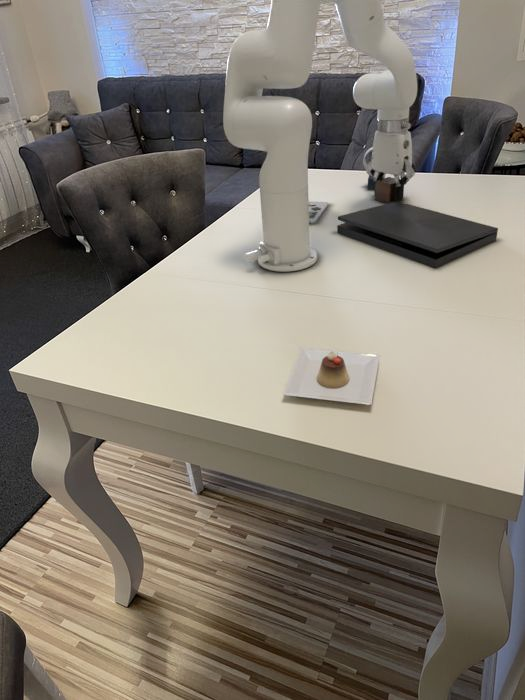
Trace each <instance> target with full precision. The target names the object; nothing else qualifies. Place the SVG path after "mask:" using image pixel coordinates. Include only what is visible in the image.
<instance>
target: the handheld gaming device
mask: <svg viewBox="0 0 525 700" xmlns="http://www.w3.org/2000/svg"><path fill="white" fill-rule="evenodd" d="M308 202H309V224H311V225H312V224H313V225H314V224H316V223H317V222H318V221H319V219H320V218H321V217H322V215H323V214H324V212H325V211H326V209H327V208H328V207H329V202H328V201H309V200H308Z"/></svg>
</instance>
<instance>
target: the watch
mask: <svg viewBox="0 0 525 700" xmlns="http://www.w3.org/2000/svg"><path fill="white" fill-rule="evenodd" d="M372 149H373V146H371V147H370V148H369V149H367V150H366V151H365V153H364V155H363V157H362V166H363V169H364V170H365V172H366V174H367V175H368V176H367V177H368V178H367V191H375V181H373V176H372V174H371V172H370V170H369V168H368V167H367V164H368V162H367V157H366V156H367V155H368V153H370V152H372ZM386 175H388V174H387V173H385V174H384V177H383V179H384V178H386Z"/></svg>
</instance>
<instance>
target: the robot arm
mask: <svg viewBox="0 0 525 700" xmlns="http://www.w3.org/2000/svg"><path fill="white" fill-rule="evenodd" d="M329 3H331V4H332V3H333V4H334V5H335V9H336V11H337V14H338V18H339V22H340V26H341V30H342V33H343V38H344V41H345V43H346V44H347V45H348V46H349V47H350V48H351V49H353V50H355V51H357V52H359V53H361V54H363V55H365V56H367V57H369V58H372V59H374V60H376V61H378V62H379V63H381V64H382V65H384V66H385V67H386V68H387V70H384V71H382V72H371V73H370V72H369V73H365V74H363V75H361V76H360V77H359V78H358V79H357V80H356V81H355V83H354V86H353V88H352V89H353V90H352V97H353V101H354V102H355V104H356V106H358V107H360V108H361V109H366V110H377V116H376V117H377V119H376V120H377V121H376V130H375V133H374V137H373V138H374V139H373V142H372V147H373V149H372V150H371V159H370V160H369V161H368V162H367V167H368V168H369V170H370V172H371V174H372V176H373V181H375V187H376V181H377V180H381V179H383V177H384V174H385V173H387V174H386V175H393V178H394V179H395V183H396V186H394V192H393V201H394V202H395V201H398V202H401V201H403V200H404V191H405V185H407V184H408V182H409V181H410V180H411V179H412V178H413V177H414V176H415V174H416V172H415V170H414V168H413V167H412V166H413V141H412V134H411V131H409V130H410V129H411V127H412V124H411V122H409V121H410V107H412V106H413V104H414V103H415V101H416V98H417V96H418V77H417V71H416V65H415V61H414V56H413V54H412V52H411V50H410V49H409V46H407V45H406V43H405V42H404V41H403V39H402V38H401V37H400V36H399V35H398V34H397V33H396V32H395V31H394V30H392V29H391V27H389V26H388V25H387V23H386V21H385V16H384V12H383V7H382V2H381V0H271V2H270V8H269V13H268V14H269V16H268V21H267V26H266V27H265V29H253V30H248V31H244V32H242V33H241V34H239V35H238V36H237V37H236V38H235V40H234V42H233V43H232V44H231V47H230V50H229V52H228V58H227V63H226V74H225V75H226V76H225V87H224V100H223V111H222V112H223V113H222V114H223V115H222V120H223V121H222V124H223V125H222V126H223V131H224V134H225V137H226V139H227V140H228V143H230V144H231V145H232V146H234V147H236V148H239V149H243V150H251V151H252V150H253V151H262V152H266V157H265V160H264V161H263V163H262V165H261V168H260V170H259V175H258V184H259V195H260V211H261V223H262V224H261V225H262V235H263V236H262V237H263V241H260V242H259V247H257V248H256V250H254V251H253V250H252V251H250V252H247V253H244V260H245V261H246V263H248V264H250V263H253V262H255V261H257V263H258V265H259V266H260V267H262V268H263V269H266V270H269V271H271V272H280V273H281V272H282V273H284V272H285V273H288V272H297V271H302V270H304V269H307V268H309V267H311V266H313V265H314V264H316V262H317V260H318V252H317V250H315V249H314V248H313V247H311V245H310V243H311V241H310V223H309V202H308V201H309V176H308V175H309V168H308V167H309V151H310V145H311V144H310V142H311V139H312V137H311V136H312V130H313V117H312V112H311V110H310V108H309V107H308V106H307V104H305V102H303V101H302V100H300V99H298V98H295V97H291V96H282V95H263V91H264V89H269V90H270V89H275V90H278V89H279V90H287V89H288V90H289V89H297V88H301V87H302V86H304V85H305V84H306V83H307V82H308V80H309V78H310V75H311V71H312V66H313V58H314V51H315V45H316V38H317V37H316V36H317V27H318V21H319V14H320V10H321V5H322V4H329ZM373 194H374V197H375V191H374V193H373Z"/></svg>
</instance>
